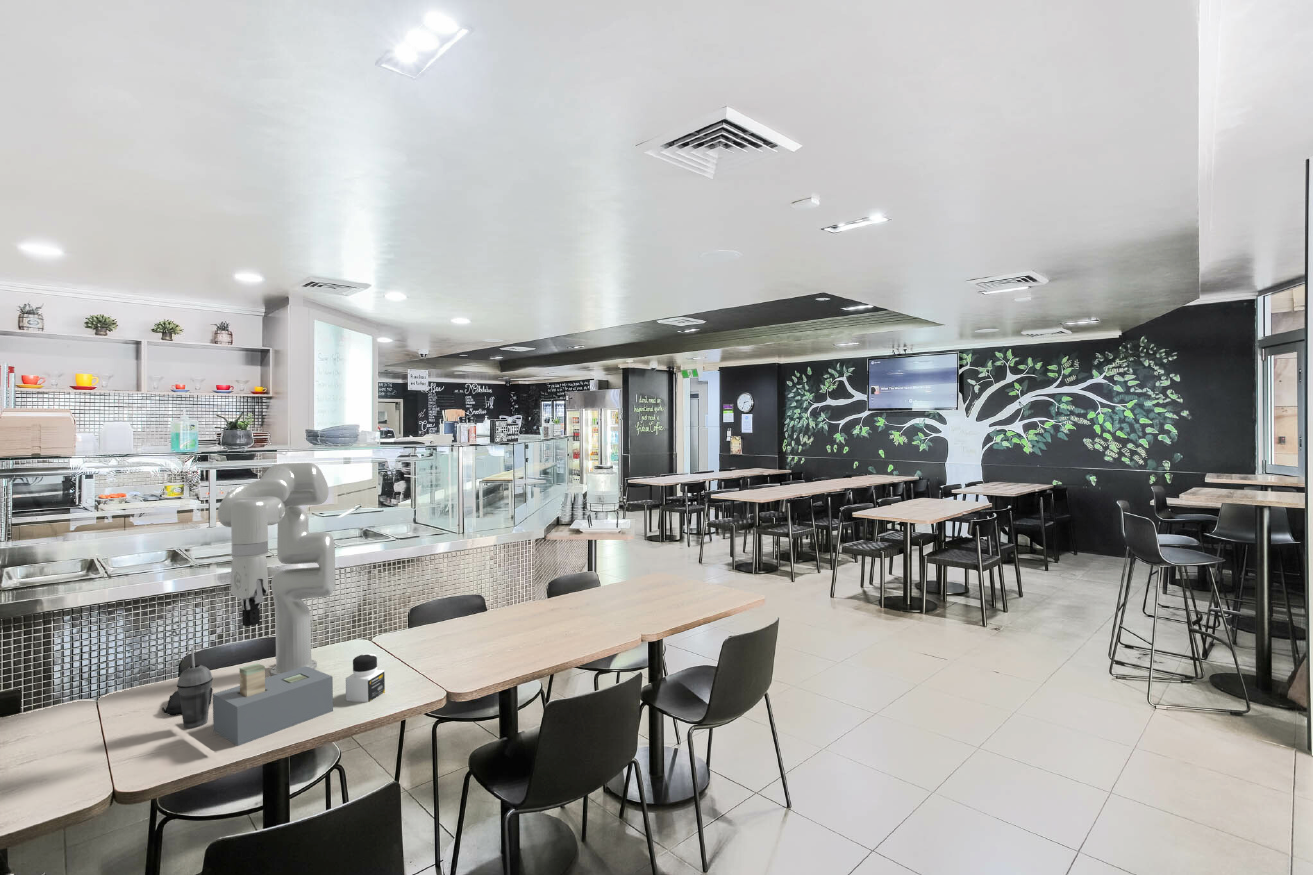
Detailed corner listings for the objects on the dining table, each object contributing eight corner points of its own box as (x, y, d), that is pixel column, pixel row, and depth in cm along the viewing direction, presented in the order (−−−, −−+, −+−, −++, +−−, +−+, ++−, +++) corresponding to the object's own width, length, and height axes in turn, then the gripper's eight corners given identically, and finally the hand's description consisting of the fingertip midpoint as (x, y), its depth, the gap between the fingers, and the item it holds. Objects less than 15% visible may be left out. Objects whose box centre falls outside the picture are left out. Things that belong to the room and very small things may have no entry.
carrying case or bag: (166, 701, 174) (159, 721, 161) (165, 690, 174) (159, 709, 161) (213, 692, 179) (210, 710, 167) (212, 681, 179) (210, 699, 167)
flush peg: (284, 714, 161) (283, 679, 161) (300, 708, 164) (299, 674, 164) (291, 717, 158) (290, 682, 158) (307, 712, 162) (307, 677, 162)
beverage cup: (185, 737, 151) (183, 655, 151) (172, 730, 155) (170, 650, 155) (219, 725, 157) (217, 646, 157) (205, 719, 161) (204, 641, 161)
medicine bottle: (368, 705, 167) (367, 661, 167) (345, 704, 169) (344, 659, 169) (385, 695, 174) (384, 652, 174) (362, 693, 176) (362, 650, 176)
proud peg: (240, 704, 153) (239, 668, 153) (258, 699, 156) (257, 663, 156) (247, 708, 150) (246, 671, 150) (265, 702, 153) (264, 666, 154)
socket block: (213, 734, 152) (212, 693, 152) (306, 702, 170) (306, 665, 170) (238, 750, 144) (237, 706, 144) (333, 714, 162) (332, 676, 162)
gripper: (220, 549, 154) (221, 624, 154) (246, 554, 146) (247, 633, 146) (253, 545, 161) (254, 617, 160) (280, 550, 152) (281, 625, 152)
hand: (251, 624), depth 153 cm, fingers closed
